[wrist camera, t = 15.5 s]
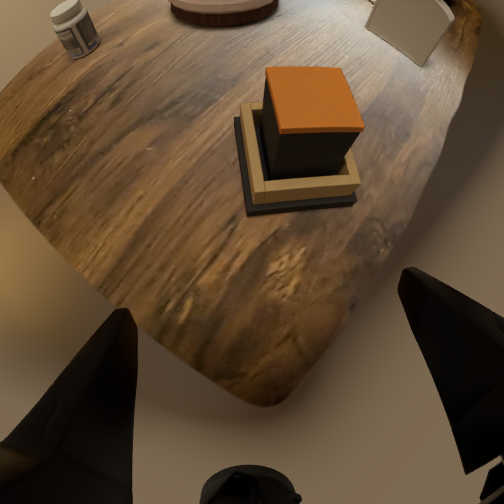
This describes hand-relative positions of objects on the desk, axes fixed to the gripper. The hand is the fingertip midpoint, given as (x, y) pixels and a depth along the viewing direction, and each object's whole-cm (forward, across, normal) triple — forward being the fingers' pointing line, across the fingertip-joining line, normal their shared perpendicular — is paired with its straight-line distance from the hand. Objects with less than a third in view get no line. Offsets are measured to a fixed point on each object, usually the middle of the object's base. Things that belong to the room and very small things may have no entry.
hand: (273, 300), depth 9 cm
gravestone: (+31, -24, -12) cm, 41 cm away
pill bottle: (+34, +18, -15) cm, 41 cm away
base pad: (+18, -5, +2) cm, 18 cm away
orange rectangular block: (+17, -5, +1) cm, 18 cm away
